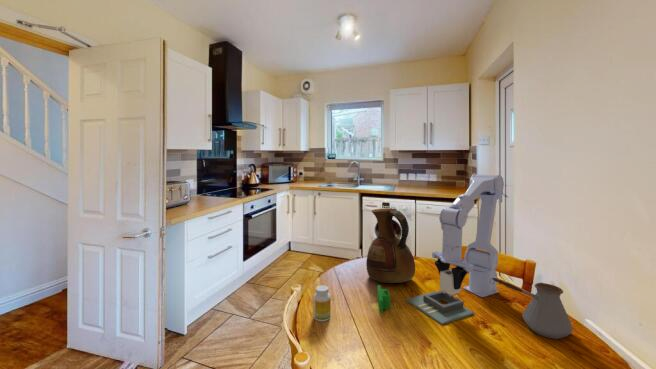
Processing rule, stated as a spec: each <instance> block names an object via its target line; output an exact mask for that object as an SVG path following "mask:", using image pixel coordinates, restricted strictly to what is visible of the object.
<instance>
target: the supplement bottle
mask: <svg viewBox="0 0 656 369" xmlns="http://www.w3.org/2000/svg"><path fill="white" fill-rule="evenodd" d="M331 304H332V302H331V294H330V293H329V286H327V285H322V284H321V285H318V286H316V287H315V293H314V294H313V318H314V320H315V321H317V322H326V321H328V320H330V318H331V313H332V312H331V308H332V307H331Z"/></svg>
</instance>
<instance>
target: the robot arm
mask: <svg viewBox="0 0 656 369" xmlns="http://www.w3.org/2000/svg"><path fill="white" fill-rule="evenodd" d="M504 186H505V182H504V178H503V177H502V175H501V174H477V173H473V174H472V175H471V177H470V178H469V186H468V188H467V190H466V191H465V192H464V193H463V194H458V196H457V197H456V199H455V200H454V201H453V202H452V203H451V204H450V206H449V207H445V208H442V209H441V211H440V213H439V214H440V215H439V222H440V226H441V227H440V228H441V231H442V244H441V246H442V249H441V251H442V252H440V251H437V250H436V251H432V252H431V253H432V254H431V256H432V258H433V259H437V260H435V261H434V265H435V267H436V269H437V270H438V274H439V275H440V271H444V270H448V269H451V270H452V273H453V278H454V289H456V290H457V289H460V287H461V288H462V283H463V282H464V279H465V277H466V276H467V275H468V274H469V276H468V277H469V279H468V285H467V286H466V285H465V286H463V290H466V291H468V292H470V293H472V294H474V295H476V296H478V297H480V298H485V297H488V296H491V295H494V294H497V293H499V290H498V289H497V288H498V282H496V281H495V282H494V280H493V279H491V278H496V279H498V274H497V271H496V269H497V267H498V263H499V257H498V256H499V255H498V250H497V248H496V247H495V246H494V245H493V244H492V243H491V242H492V234H493V226H494V220H495V214H496V206H497V202H498V200H500V199H502V196H503V194H504V188H505V187H504ZM477 198H480V200H481V201H480V202H481V203H480V209H479V214H478V222H477V227H476V228H477V229H476V233H475V240H474V241H473V242H470V243H469V244H467V246H466V247H467V248H466V251H465V253H464V259H463V258H462V248H463V228H464V227H465V225H466V223H467V219H468V217H469V213H470V212H471V210H472V209H473V208H474V207H475V205H476V204H475V200H476V199H477ZM451 265H452V266H454V267H452V268H450V267H451ZM490 279H491V281H490ZM490 282H491V284H490ZM493 283H494V284H493Z"/></svg>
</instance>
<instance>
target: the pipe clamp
mask: <svg viewBox="0 0 656 369" xmlns="http://www.w3.org/2000/svg"><path fill="white" fill-rule="evenodd" d="M376 294H377V305H378V313H379V314H384V309H386V310H391V295H390V290H389V289H387V288H382V285H380V284H377V293H376Z"/></svg>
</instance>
